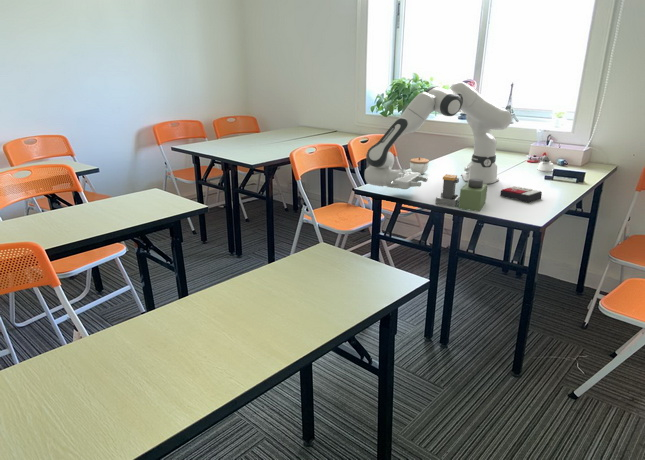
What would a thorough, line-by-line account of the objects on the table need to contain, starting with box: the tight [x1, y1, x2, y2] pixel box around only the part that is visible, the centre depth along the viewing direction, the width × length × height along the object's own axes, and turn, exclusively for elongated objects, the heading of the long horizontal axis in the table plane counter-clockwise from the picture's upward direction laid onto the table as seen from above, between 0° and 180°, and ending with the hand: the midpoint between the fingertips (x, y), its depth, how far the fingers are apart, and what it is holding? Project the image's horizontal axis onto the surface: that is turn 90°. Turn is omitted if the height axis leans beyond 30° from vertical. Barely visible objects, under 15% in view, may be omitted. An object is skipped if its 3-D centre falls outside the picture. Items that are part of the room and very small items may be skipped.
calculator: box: [500, 185, 543, 204], centre depth 225 cm, size 11×4×15 cm
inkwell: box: [537, 155, 555, 173], centre depth 271 cm, size 9×18×10 cm, turn 148°
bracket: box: [435, 192, 460, 207], centre depth 218 cm, size 9×9×3 cm
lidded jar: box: [409, 156, 430, 175], centre depth 272 cm, size 11×11×9 cm
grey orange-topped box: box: [442, 173, 460, 199], centre depth 216 cm, size 6×5×12 cm
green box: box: [458, 179, 488, 212], centre depth 212 cm, size 9×13×12 cm
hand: (424, 182), depth 222 cm, fingers open, 8 cm apart
